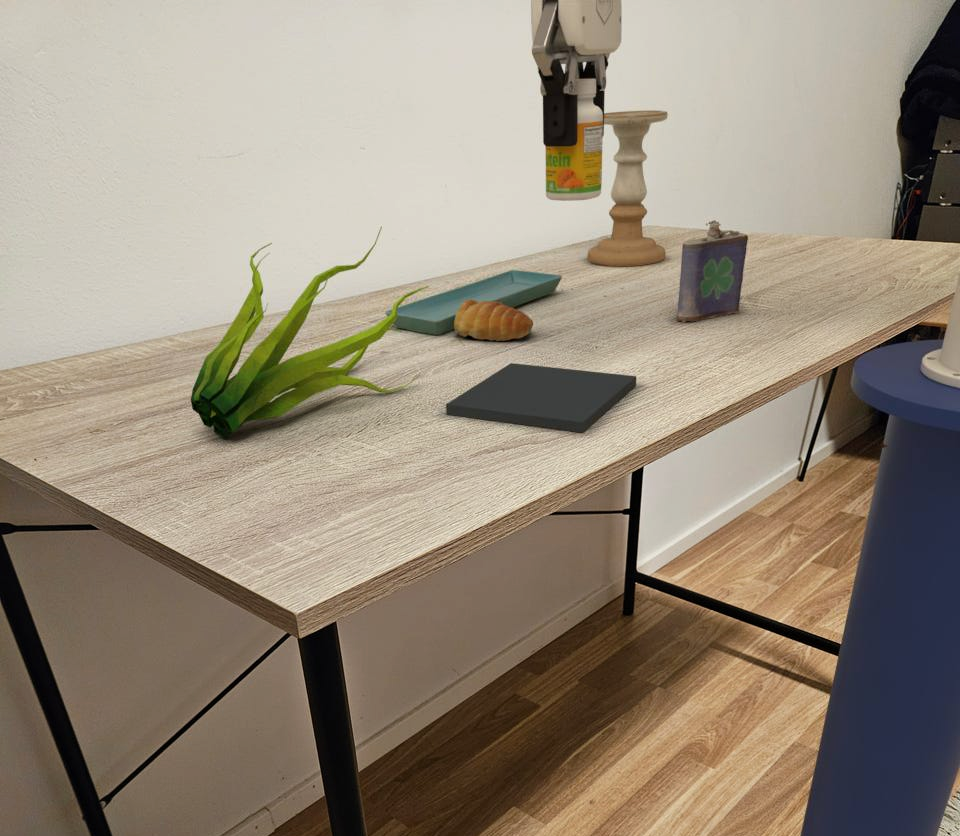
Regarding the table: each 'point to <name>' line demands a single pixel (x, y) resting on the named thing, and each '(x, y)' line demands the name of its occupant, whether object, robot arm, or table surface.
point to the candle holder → (629, 194)
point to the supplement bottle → (578, 152)
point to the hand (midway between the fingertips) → (574, 140)
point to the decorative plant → (276, 362)
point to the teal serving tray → (442, 308)
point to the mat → (543, 397)
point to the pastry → (491, 321)
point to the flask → (711, 274)
